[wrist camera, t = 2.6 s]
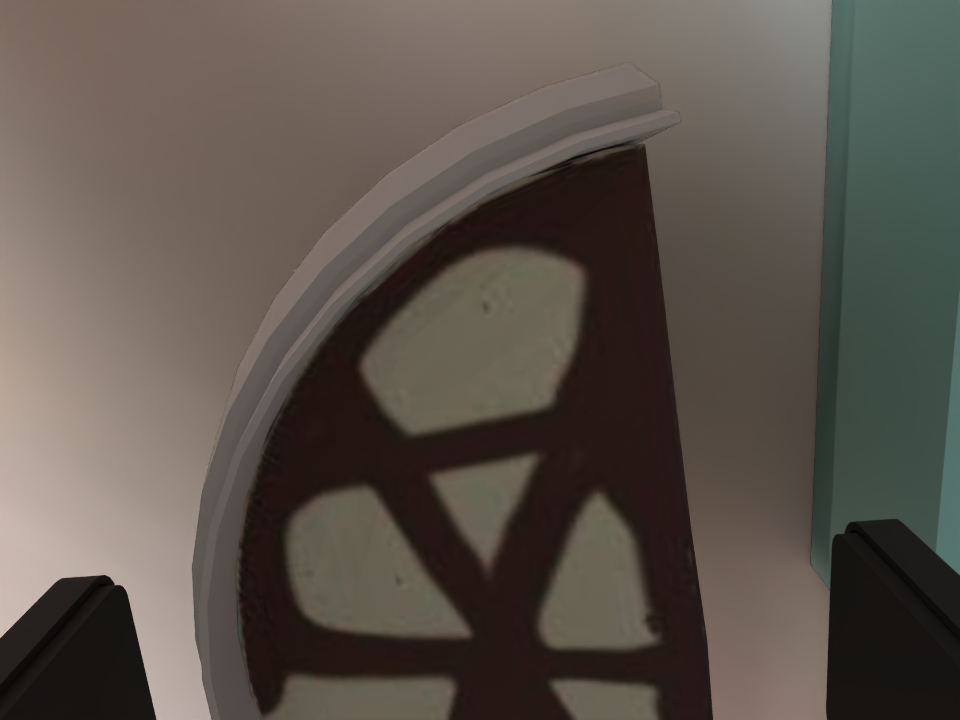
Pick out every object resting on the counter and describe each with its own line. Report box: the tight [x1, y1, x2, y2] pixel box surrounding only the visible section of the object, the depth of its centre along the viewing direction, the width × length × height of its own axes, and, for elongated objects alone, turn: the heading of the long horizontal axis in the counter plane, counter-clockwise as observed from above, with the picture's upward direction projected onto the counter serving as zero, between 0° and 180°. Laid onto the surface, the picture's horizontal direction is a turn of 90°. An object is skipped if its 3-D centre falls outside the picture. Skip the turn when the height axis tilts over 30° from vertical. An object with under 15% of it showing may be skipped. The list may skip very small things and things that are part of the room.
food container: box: [192, 62, 713, 720], centre depth 13 cm, size 12×6×10 cm, turn 10°
